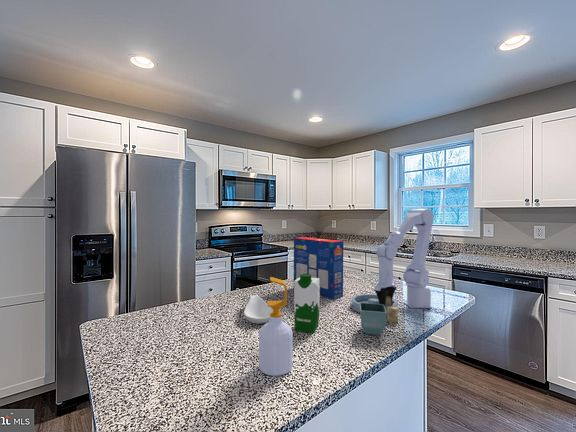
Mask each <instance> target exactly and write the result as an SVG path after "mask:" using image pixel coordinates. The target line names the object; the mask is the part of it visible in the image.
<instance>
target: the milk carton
mask: <svg viewBox="0 0 576 432" xmlns="http://www.w3.org/2000/svg"><path fill="white" fill-rule="evenodd" d="M293 288H294V289H293V291H294V295H293V300H294V301H293V308H294V309H293V313H294V314H293V315H294V316H293V317H294V319H293V321H294V331H296V332H302V333H309V334H315V333H316V331H317V328H318V327H319V324H320V323H319V322H320V321H319V320H320V297H321V296H320V294H319V290H320V287H319V278H311V275H310V274H301V275H300V277H299V278H297V279H296V280H295V281H294V280H293Z"/></svg>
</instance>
